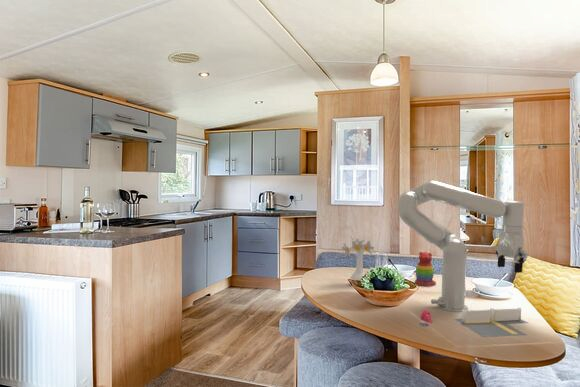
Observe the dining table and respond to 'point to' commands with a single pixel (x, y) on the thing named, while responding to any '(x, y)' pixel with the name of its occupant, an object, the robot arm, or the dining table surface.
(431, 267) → the stacking bear
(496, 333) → the fence base
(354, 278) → the flower vase
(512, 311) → the fence gate
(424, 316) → the toy pieces
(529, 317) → the dining table surface
